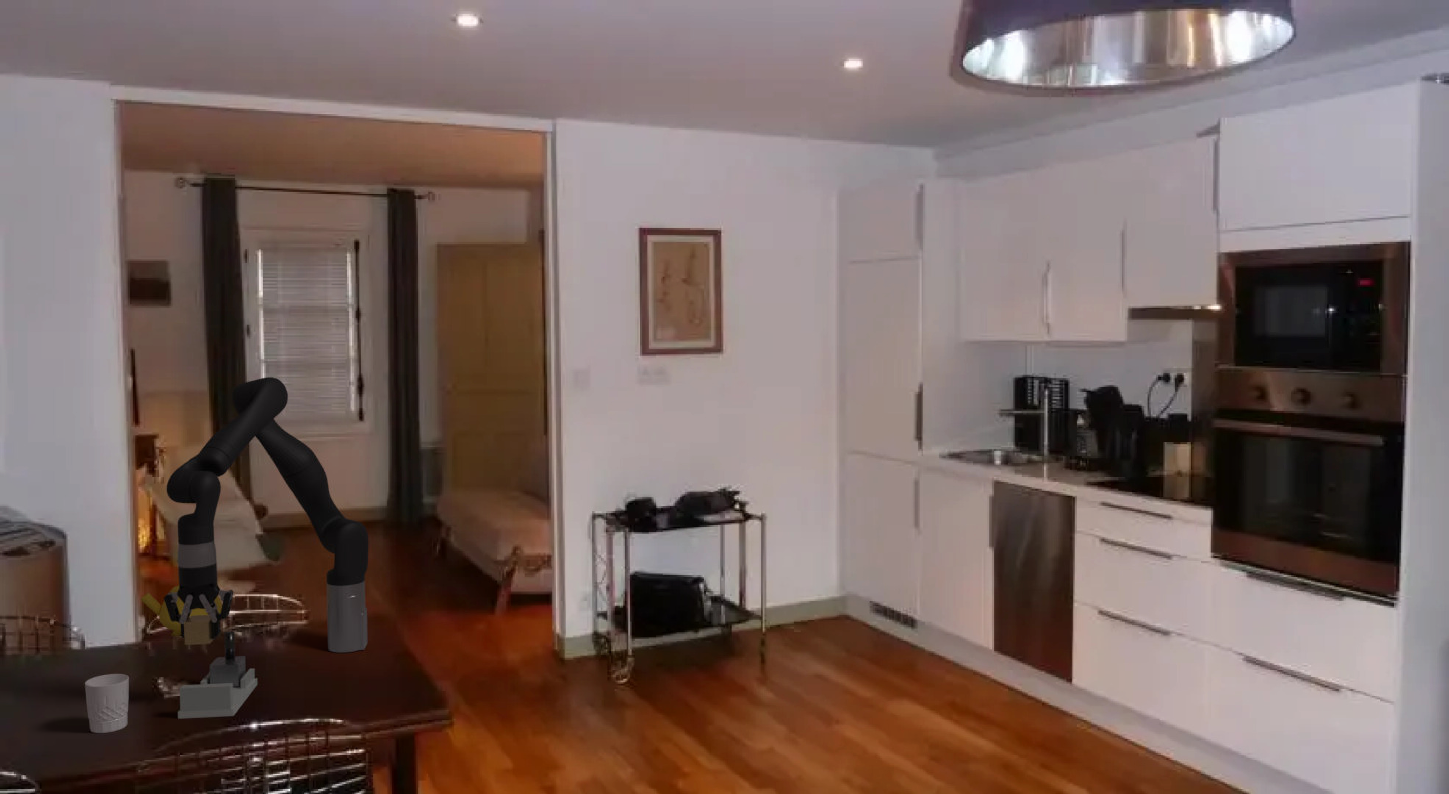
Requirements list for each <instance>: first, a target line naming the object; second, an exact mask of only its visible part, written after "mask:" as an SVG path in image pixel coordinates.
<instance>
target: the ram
mask: <svg viewBox="0 0 1449 794" xmlns="http://www.w3.org/2000/svg"><path fill="white" fill-rule="evenodd" d="M235 643H236V642H235V631H234V630H228V631H225V632H224V655H225V656H219V657H216V658H215V659H214V660H213V661H212V662H211V663H210V664H209V672H210V684H223V683H233V686H239V685H240V684H241V679H242V678H243V676H244V675H245V674H246V673H247V672H246V670H247V669H246V656H245V655H240V656H239V655H237V656H236V655H235V654H236V652H235V651H236V650H235V648H236V647H235Z"/></svg>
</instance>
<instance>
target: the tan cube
mask: <svg viewBox="0 0 1449 794" xmlns="http://www.w3.org/2000/svg"><path fill="white" fill-rule="evenodd" d="M211 622H212V621H211V619H210V617H209V615H196V616H191V617H189V618H188V619H187V620H186V621H185V622H184V636H185V640H184V645H185V646H190V645H192V646H194V645H211V643H212V642H213V641H214V640H215V639H212V638H211Z"/></svg>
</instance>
